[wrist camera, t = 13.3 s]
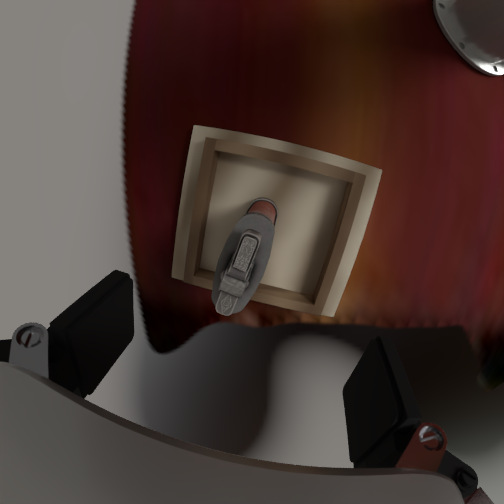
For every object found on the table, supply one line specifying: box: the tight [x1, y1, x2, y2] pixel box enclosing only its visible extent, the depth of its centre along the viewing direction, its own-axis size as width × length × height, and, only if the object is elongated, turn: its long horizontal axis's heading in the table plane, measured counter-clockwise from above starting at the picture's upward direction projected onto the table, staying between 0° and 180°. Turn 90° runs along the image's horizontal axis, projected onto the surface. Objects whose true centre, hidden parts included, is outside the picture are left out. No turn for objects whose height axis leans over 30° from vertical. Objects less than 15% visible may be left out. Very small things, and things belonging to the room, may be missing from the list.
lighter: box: [212, 197, 278, 316], centre depth 22 cm, size 8×3×10 cm, turn 160°
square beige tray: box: [172, 125, 382, 317], centre depth 26 cm, size 18×16×3 cm
